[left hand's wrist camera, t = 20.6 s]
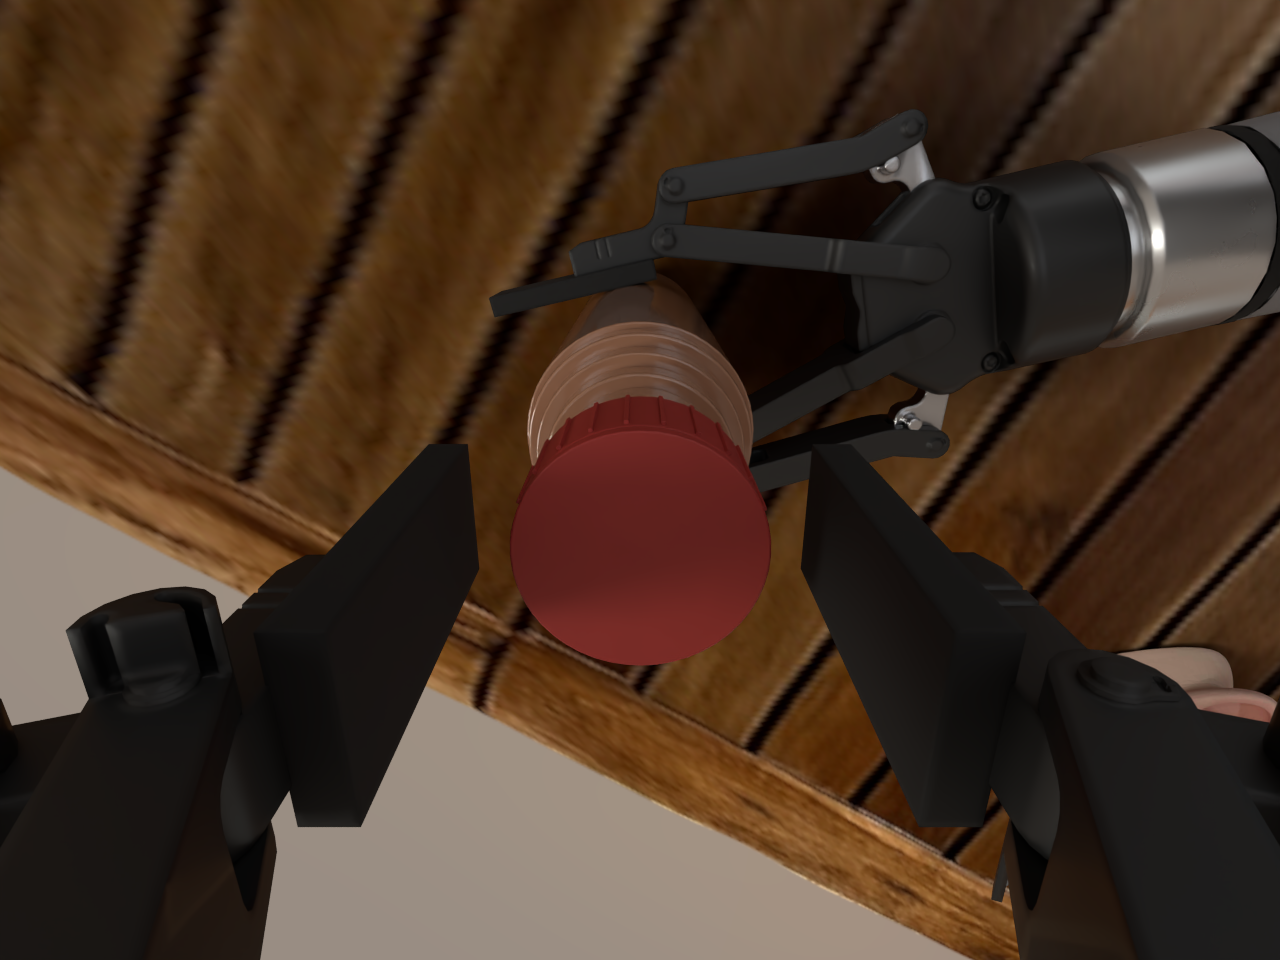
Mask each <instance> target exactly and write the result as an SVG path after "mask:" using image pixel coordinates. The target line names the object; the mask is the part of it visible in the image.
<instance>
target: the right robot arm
mask: <svg viewBox="0 0 1280 960" xmlns="http://www.w3.org/2000/svg"><path fill="white" fill-rule="evenodd" d="M927 129H928V122H927V118H926V117H925V115H924V113H922V112H921V111H919V110H914V109H911V110H908V111H905V112H903V113H900V114H898V115H895V116H893V117H890V118H888V119H885V120H883V121H881V122H879V123H877V124H876V125H874V126H872V127H871V128H869V129H867V130H865V131H864V132H862V133H860V134H858V135H857V136H855V137H853V138H850V139H844V140H838V141H832V142H826V143H820V144H814V145H808V146H802V147H796V148H790V149H784V150H778V151H772V152H766V153H760V154H754V155H748V156H742V157H736V158H730V159H724V160H719V161H713V162H707V163H701V164H695V165H689V166H683V167H677V168H672V169H669V170H667V171H666V172H665V173H664V174H663V175H662V176H661V178H660V180H659V182H658V185H657V193H656V201H655V209H654V214H653V217H652V219H651V221H650V222H649V223H648V224H647V225H646V226H644V227H642V228H640V229H636V230H632V231H628V232H624V233H620V234H615V235H611V236H607V237H603V238H599V239H594V240H590V241H586V242H582V243H580V244H579V245H577V246H576V247H575V248H573V249H572V250H570V251H569V255H570V259H571V263H572V267H573V271H574V274H573V275H568V276H564V277H560V278H556V279H551V280H547V281H543V282H539V283H534V284H530V285H526V286H522V287H517V288H513V289H509V290H505V291H501V292H499V293H498V294H496V295H494V296H492V297H490V298H489V300H490V303H491V306H492V310H493V313H494V317H498V316H502V315H507V314H511V313H515V312H520V311H524V310H528V309H532V308H537V307H541V306H545V305H550V304H554V303H558V302H563V301H567V300H571V299H576V298H580V297H584V296H588V295H593V294H597V293H601V292H606V291H610V290H614V289H619V288H623V287H627V286H631V285H636V284H640V283H644V282H649V281H653V280H657V275H656V270H655V266H654V261H653V260H654V259H658V258H663V257H673V258H684V259H695V260H706V261H717V262H728V263H739V264H750V265H760V266H771V267H782V268H793V269H804V270H815V271H825V272H832V273H837V275H838V283H839V289H840V292H841V294H842V297H843V299H844V302H845V304H846V312H845V319H844V334H845V339H843V340H841V341H840V342H838V343H836V344H834V345H832V346H831V347H829V348H828V349H826V350H825V352H824V353H823V354H822V355H821V356H819V357H817V358H816V359H814V360H812V361H810V362H808V363H807V364H805V365H803V366H801V367H799V368H798V369H796V370H794V371H792V372H790V373H788V374H787V375H785V376H783V377H781V378H779V379H778V380H776V381H774V382H772V383H770V384H769V385H767V386H765V387H763V388H761V389H760V390H758V391H756V392H754V393H752V394H751V395H749V396H748V398H749V401H750V405H751V410H752V415H753V428H754V431H753V443H754V442H756V441H758V440H760V439H761V438H763V437H765V436H767V435H769V434H771V433H772V432H774V431H776V430H778V429H780V428H782V427H784V426H785V425H787V424H789V423H791V422H793V421H795V420H797V419H798V418H800V417H802V416H804V415H806V414H808V413H809V412H811V411H813V410H815V409H817V408H819V407H821V406H822V405H824V404H826V403H828V402H830V401H832V400H834V399H835V398H837V397H839V396H841V395H843V394H845V393H847V392H849V391H854V390H859V389H862V388H864V387H867V386H868V385H870V384H872V383H874V382H876V381H878V380H880V379H881V378H883V377H885V376H887V375H891V376H893V377H896V378H898V379H900V380H902V381H905V382H907V383H909V384H911V385H913V386H916V387H918V389H917V392H916V393H915V395H914V396H913V397H912V398H910V399H908V400H906V401H901V402H898V403H896V404H894V405H892V406H891V407H890V410H889V412H888V414H878V415H870V416H865V417H861V418H857V419H853V420H850V421H846V422H842V423H839V424H835V425H832V426H828V427H825V428H821V429H817V430H814V431H810V432H807V433H803V434H799V435H796V436H792V437H789V438H785V439H782V440H778V441H774V442H771V443H767V444H764V445H760V446H756V447H753V448H752V451H751V457H750V462H749V469H750V471H751V473H752V475H753V478H754V480H755V482H756V484H757V487H758V489H759V491H760V492H763V491H767V490H770V489H774V488H778V487H781V486H785V485H789V484H793V483H796V482H800V481H804V480H807V479H809V475H810V464H811V453H812V444H851V445H852V446H853V447H854V448H855V449H856V450H857V451H858V452H859V453H860V454H861V455H862V456H863V457H864V459H865V460H866V461H867V462H868V463H870V462H873V461H877V460H881V459H884V458H888V457H892V456H900V457H918V458H938V457H940V456H942V455H944V454H945V453H946V452H947V450H948V448H949V445H950V440H949V438H948V436H947V435H946V434H945V433H944V432H942V431H941V428H942V423H943V419H944V414H945V410H946V405H947V401H948V396H949V394H951V393H954V392H956V391H958V390H959V389H961V388H962V387H963V386H965V385H966V384H967V383H969V382H970V381H972V380H973V379H975V378H977V377H979V376H981V375H984V374H989V373H994V372H1000V371H1006V370H1010V369H1015V368H1020V367H1024V366H1029V365H1033V364H1038V363H1043V362H1047V361H1052V360H1056V359H1061V358H1066V357H1070V356H1075V355H1080V354H1085V353H1087V352H1090V351H1092V350H1094V349H1095V348H1097V347H1101V348H1116V347H1120V346H1124V345H1129V344H1133V343H1137V342H1142V341H1146V340H1150V339H1155V338H1159V337H1163V336H1167V335H1172V334H1176V333H1180V332H1185V331H1189V330H1193V329H1198V328H1202V327H1206V326H1212V325H1219V324H1224V323H1229V322H1234V321H1236V320H1240V319H1245V318H1251V317H1256V316H1261V315H1266V314H1271V313H1276V312H1280V111H1278V112H1275V113H1271V114H1267V115H1263V116H1259V117H1255V118H1251V119H1248V120H1244V121H1240V122H1236V123H1232V124H1228V125H1220V126H1214V127H1209V128H1202V129H1198V130H1193V131H1189V132H1185V133H1181V134H1176V135H1172V136H1168V137H1163V138H1159V139H1155V140H1150V141H1146V142H1142V143H1137V144H1133V145H1129V146H1124V147H1120V148H1116V149H1111V150H1107V151H1103V152H1099V153H1096V154H1093V155H1090V156H1087V157H1085V158H1083V159H1082V160H1081V161H1079V162H1078V161H1073V160H1065V161H1061V162H1056V163H1052V164H1048V165H1044V166H1039V167H1035V168H1031V169H1026V170H1022V171H1018V172H1014V173H1009V174H1005V175H1001V176H997V177H992V178H988V179H984V180H979V181H975V182H971V183H966V184H963V183H957V182H953V181H951V180H948V179H944V178H935V177H934V174H933V171H932V168H931V166H930V163H929V160H928V157H927V155H926V152H925V149H924V147H923V144H922V140H923V138H924V137H925V135H926V133H927ZM859 172H863V174H864V176H865V178H866V179H867V180H868V181H869V182H871V183H873V184H882V183H887V182H893V183H895V184H897V185H898V186H899V187H900V189H901V191H902V192H901V193H900V194H899V196H898V197H897V198H896V199H895V200H894V201H893V202H892V203H891V204H890V205H889V206H888V207H887V208H886V209H885V210H884V212H883V213H882V214H881V215H880V216H879V217H878V218H877V219H876V220H875V221H874V222H873V223H872V224H871V225H870V226H869V228H868V229H867V230H866V231H865V232H864V233H863V234H862V235H861V236H860V237H859V238H858V239H857V240H845V239H834V238H824V237H812V236H802V235H791V234H780V233H769V232H759V231H748V230H737V229H726V228H716V227H705V226H694V225H685V220H686V213H687V206H688V202H691V201H697V200H703V199H709V198H716V197H722V196H728V195H734V194H740V193H746V192H752V191H758V190H764V189H770V188H776V187H782V186H788V185H794V184H800V183H807V182H813V181H819V180H825V179H831V178H836V177H841V176H846V175H850V174H855V173H859Z"/></svg>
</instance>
